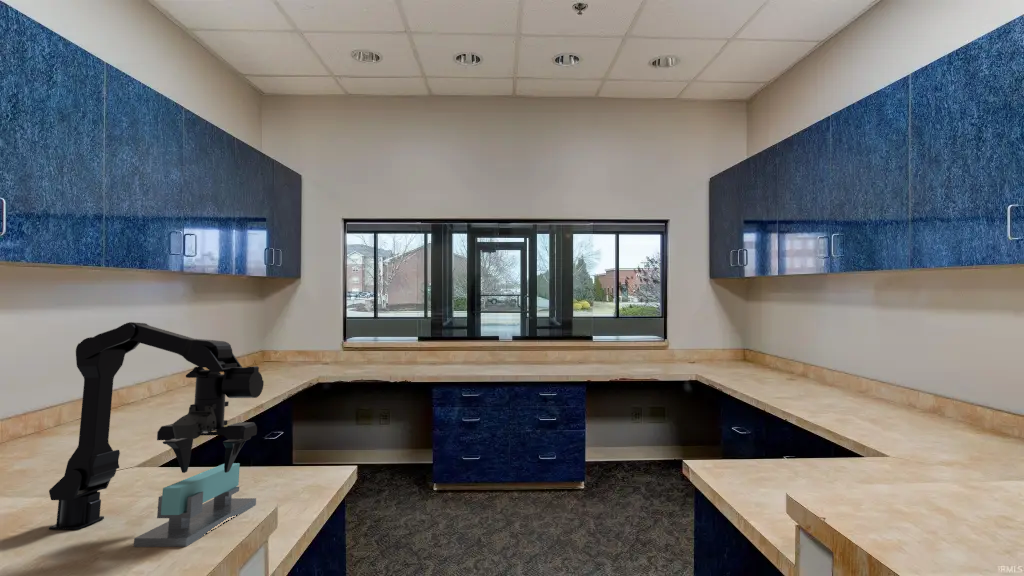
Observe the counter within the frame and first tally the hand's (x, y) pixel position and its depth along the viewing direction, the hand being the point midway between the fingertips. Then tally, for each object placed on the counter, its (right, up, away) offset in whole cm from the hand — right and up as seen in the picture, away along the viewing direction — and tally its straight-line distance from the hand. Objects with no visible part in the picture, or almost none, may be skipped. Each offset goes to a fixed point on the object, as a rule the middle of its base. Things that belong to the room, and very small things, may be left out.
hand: (205, 472), depth 104 cm
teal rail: (0, -5, -1) cm, 6 cm away
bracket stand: (0, -10, -1) cm, 11 cm away
